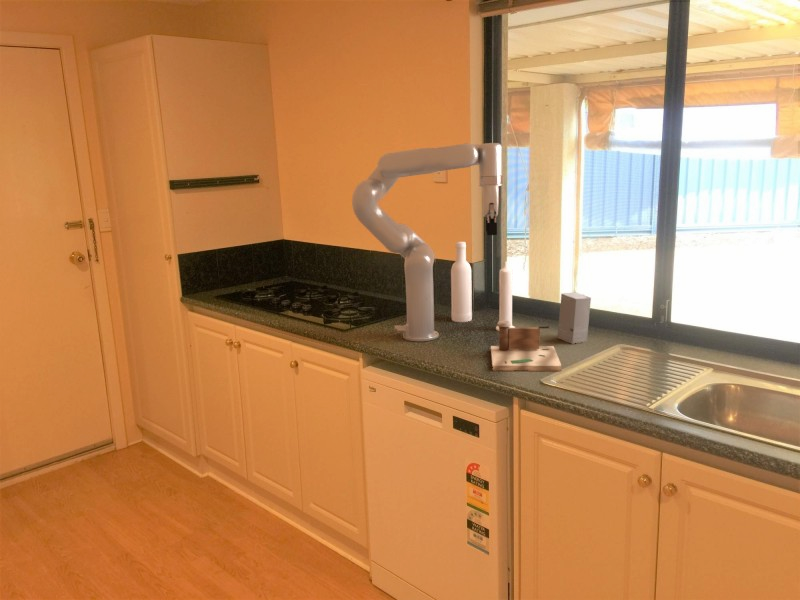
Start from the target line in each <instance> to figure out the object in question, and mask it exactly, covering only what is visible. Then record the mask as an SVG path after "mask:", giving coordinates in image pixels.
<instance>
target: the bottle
mask: <svg viewBox="0 0 800 600" xmlns="http://www.w3.org/2000/svg"><path fill="white" fill-rule="evenodd" d="M466 244H467V243H466V242H465V241H457V242H456V243H455V248H456V249H455V254H456V259H455V260H456V261H454V263H453V264H452V266H451V269H450V284H451V286H450V288H451V290H450V291H451V293H450V295H451V302H450V303H451V311H450V312H451V313H450V314H451V315H450V316H451V321H452V322H454V323H455V322H456V323H467V322H468V321H469V322H472V320H473V319H472V318H473V309H472V308H473V307H472V306H473V305H472V303H473V302H472V299H473V297H472V296H473V294H472V289H473V288H472V287H473V286H472V267H471V265H470V263H469V262H468V261H467V251H466V248H467V245H466Z"/></svg>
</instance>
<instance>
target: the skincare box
mask: <svg viewBox="0 0 800 600" xmlns="http://www.w3.org/2000/svg"><path fill="white" fill-rule="evenodd" d="M560 294H561V295H560V305H559V308H560V309H559V317H558V326H557V327H558V329H557V339H558V340H560V341H564V342H566V343H570V344H571V345H574V344H575V343H576V344H580V343H581V342H583V343H587V342H588V333H589V322H590V311H591V303H592V302H591V301H592V297H590V296H588V295H585V294H582V293H579V292H563V293H560ZM581 344H582V343H581Z"/></svg>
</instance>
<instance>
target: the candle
mask: <svg viewBox="0 0 800 600" xmlns="http://www.w3.org/2000/svg"><path fill="white" fill-rule="evenodd" d="M498 275H499V279H498V280H499V283H498V284H499V287H498V289H499V294H498V295H499V299H498V303H499V306H498V307H499V320H498V322H499V321H509V322H510V326H509V328H516V326H514V325H513V269H511V267H509V266H508V261H506V260H505V261H504V265H503V266H502V268H501V269H499V274H498ZM495 330H496V331H497V332H499V326H498V325H496V327H495Z"/></svg>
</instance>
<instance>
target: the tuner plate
mask: <svg viewBox="0 0 800 600" xmlns="http://www.w3.org/2000/svg"><path fill="white" fill-rule="evenodd" d="M490 353H491V356H490V357H491V365H492V366H491V367H493V368H492V371H514V370H526V371H527V370H528V371H531V372H532V371H536V372H537V371H539V372H541V371H542V372H543V371H549V372H550V371H553V372H557V371H558V372H559V371H560V372H561V371H563V370H562V367H563V366H562V364H561V360H560V359H559V356H558V354H557V351H556V349H555V347H554V345H549V346H548V345H539V349H509V350H505V351H503V350H499V345H491V346H490ZM526 371H525V372H526Z"/></svg>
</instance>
